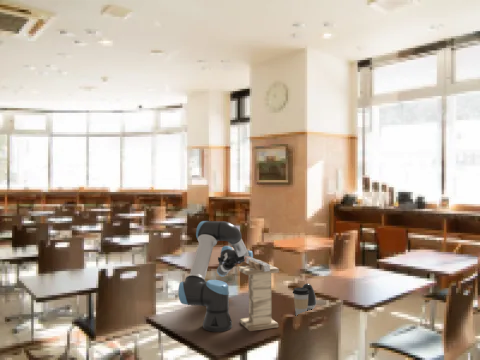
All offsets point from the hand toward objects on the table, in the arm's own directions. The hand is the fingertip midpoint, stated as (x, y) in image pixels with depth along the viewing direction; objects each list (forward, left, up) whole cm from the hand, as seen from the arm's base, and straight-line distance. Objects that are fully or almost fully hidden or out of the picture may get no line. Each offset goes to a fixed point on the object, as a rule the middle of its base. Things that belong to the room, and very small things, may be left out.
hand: (237, 254), depth 246 cm
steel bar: (-8, -29, -2) cm, 30 cm away
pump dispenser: (+32, -27, -32) cm, 53 cm away
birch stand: (-9, -32, -32) cm, 46 cm away
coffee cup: (+20, -34, -32) cm, 51 cm away
